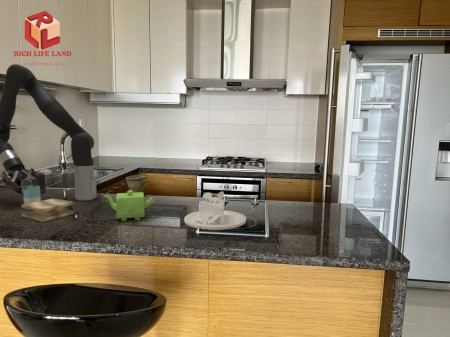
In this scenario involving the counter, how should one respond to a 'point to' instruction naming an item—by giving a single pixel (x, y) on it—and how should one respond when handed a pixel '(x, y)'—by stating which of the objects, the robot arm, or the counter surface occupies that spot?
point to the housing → (31, 194)
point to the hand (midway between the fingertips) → (27, 188)
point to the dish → (214, 215)
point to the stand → (47, 209)
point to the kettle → (129, 205)
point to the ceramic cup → (136, 183)
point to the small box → (40, 182)
